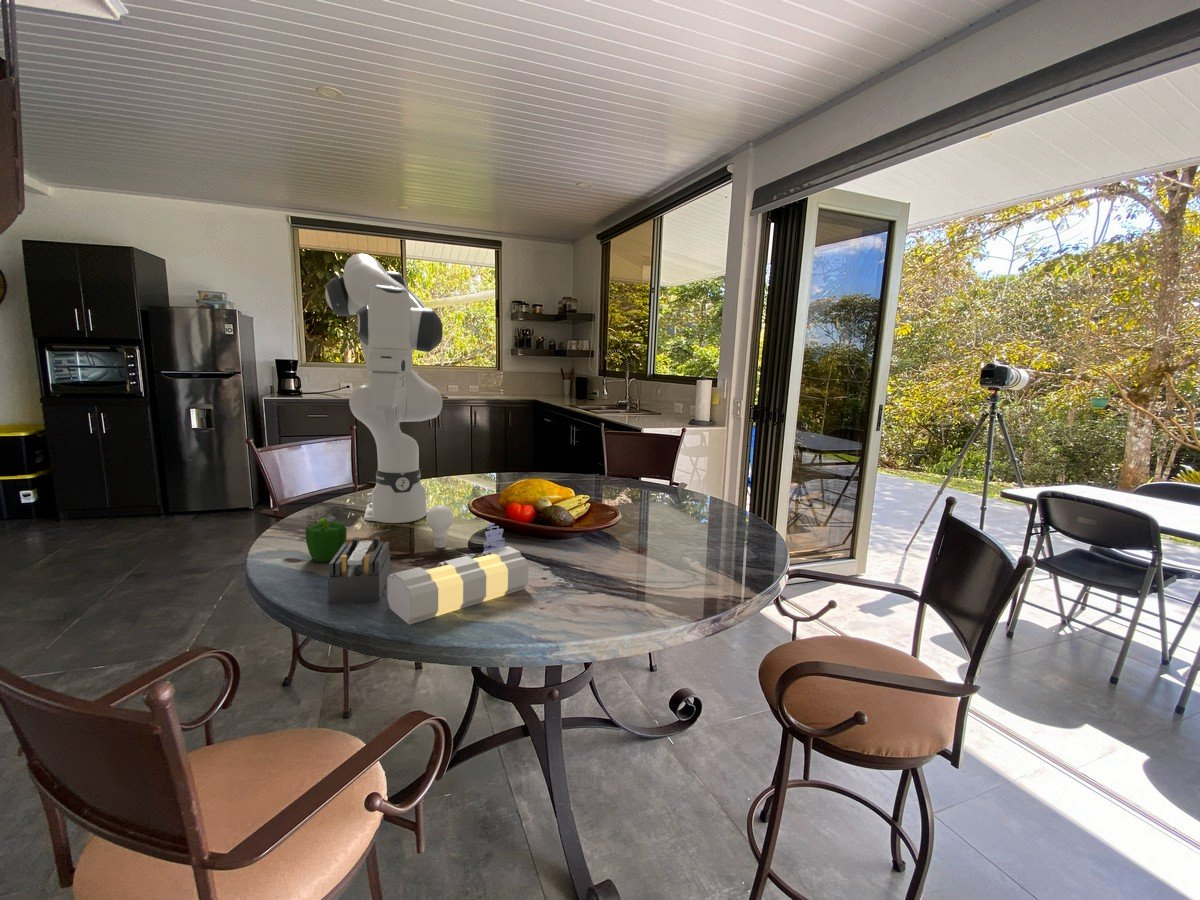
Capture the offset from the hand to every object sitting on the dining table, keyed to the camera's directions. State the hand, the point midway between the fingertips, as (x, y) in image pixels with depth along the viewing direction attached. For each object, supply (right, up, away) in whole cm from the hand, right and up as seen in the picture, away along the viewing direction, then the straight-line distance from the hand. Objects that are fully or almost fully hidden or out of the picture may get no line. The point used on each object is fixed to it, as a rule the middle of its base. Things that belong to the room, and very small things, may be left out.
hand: (391, 426), depth 116 cm
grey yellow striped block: (+18, -35, -12) cm, 41 cm away
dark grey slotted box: (-2, -33, -9) cm, 34 cm away
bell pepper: (-17, -30, +5) cm, 35 cm away
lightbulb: (+6, -30, +15) cm, 34 cm away
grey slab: (-2, -26, -10) cm, 28 cm away
